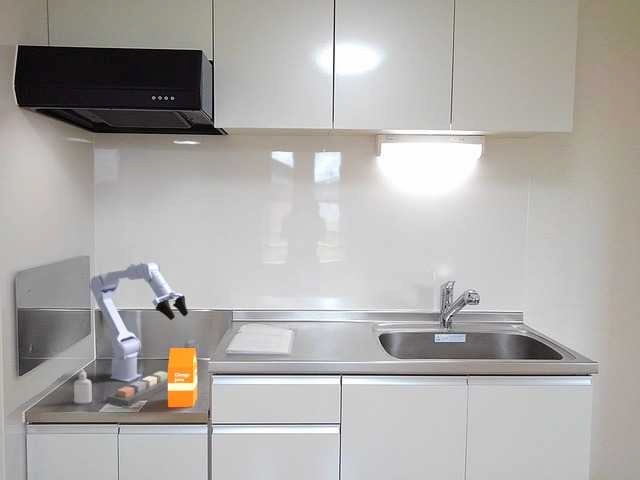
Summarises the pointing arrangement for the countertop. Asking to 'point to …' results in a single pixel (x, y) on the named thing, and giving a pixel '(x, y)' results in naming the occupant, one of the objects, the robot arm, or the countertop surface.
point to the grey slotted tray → (137, 394)
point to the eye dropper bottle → (82, 389)
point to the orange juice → (182, 377)
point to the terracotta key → (125, 392)
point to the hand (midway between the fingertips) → (179, 316)
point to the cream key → (150, 380)
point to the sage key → (161, 375)
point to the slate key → (138, 386)
